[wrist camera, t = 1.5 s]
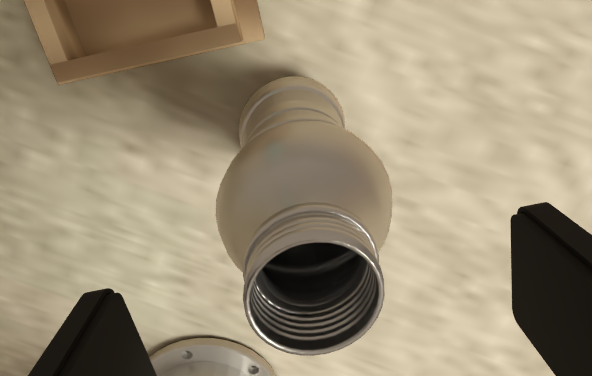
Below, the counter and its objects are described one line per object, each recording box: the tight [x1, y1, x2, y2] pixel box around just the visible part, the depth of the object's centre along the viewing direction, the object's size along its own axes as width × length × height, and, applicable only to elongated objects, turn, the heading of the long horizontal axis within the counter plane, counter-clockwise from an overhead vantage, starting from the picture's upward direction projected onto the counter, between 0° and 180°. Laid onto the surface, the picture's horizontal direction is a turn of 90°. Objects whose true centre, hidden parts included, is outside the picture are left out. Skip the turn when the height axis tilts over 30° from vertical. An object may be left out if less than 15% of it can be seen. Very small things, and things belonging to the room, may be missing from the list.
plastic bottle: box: [216, 76, 392, 355], centre depth 21 cm, size 6×7×20 cm
